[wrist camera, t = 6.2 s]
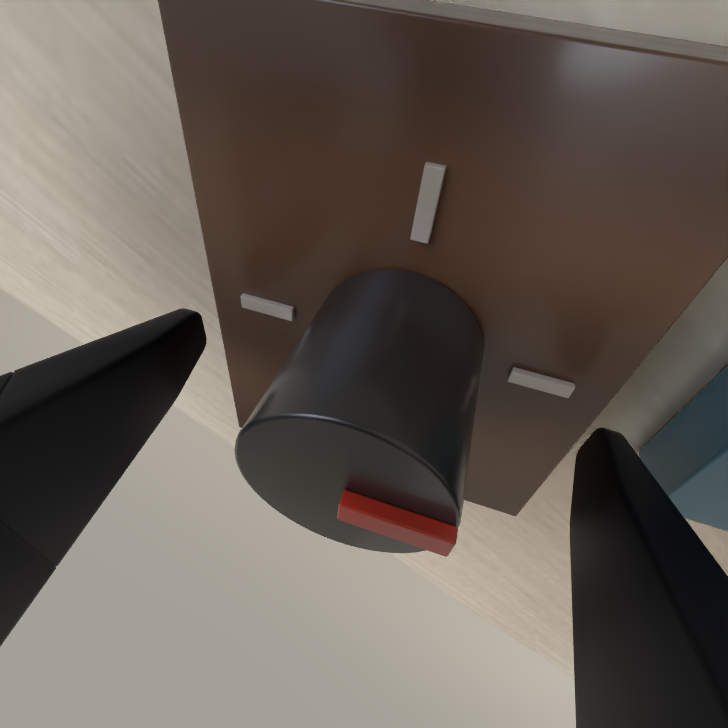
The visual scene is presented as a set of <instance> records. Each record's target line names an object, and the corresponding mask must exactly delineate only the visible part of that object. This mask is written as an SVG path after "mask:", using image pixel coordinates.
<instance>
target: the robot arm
mask: <svg viewBox="0 0 728 728" xmlns="http://www.w3.org/2000/svg"><path fill="white" fill-rule="evenodd" d="M205 346H206V334H205V330H204V325H203V321H202V317H201V315H200V314H199V313H198V312H195V311H192V310H188V309H183V308H182V309H178V310H176V311H173V312H170V313H168V314H165V315H162V316H159V317H157V318H154V319H151V320H149V321H146V322H143V323H141V324H138V325H135V326H133V327H130V328H127V329H125V330H122V331H119V332H117V333H114V334H111V335H109V336H106V337H103V338H101V339H98V340H95V341H93V342H90V343H87V344H85V345H82V346H79V347H76V348H74V349H71V350H68V351H66V352H63V353H61V354H58V355H55V356H52V357H50V358H47V359H45V360H42V361H39V362H36V363H34V364H31V365H28V366H26V367H23V368H20V369H17V370H15V371H14V373H13V372H9V373H7V374H4V375H1V376H0V646H1V645H2V643H3V642H4V640H5V639H6V638H7V636H8V635H9V634H10V632H11V630H12V629H13V628H14V626H15V625H16V624H17V622H18V621H19V619H20V618H21V617H22V615H23V614H24V612H25V611H26V610H27V608H28V607H29V605H30V604H31V603H32V601H33V600H34V598H35V597H36V596H37V594H38V593H39V591H40V590H41V589H42V587H43V586H44V584H45V583H46V582H47V580H48V579H49V577H50V576H51V575H52V573H53V572H54V570H55V569H56V566H57V565H58V564H59V563H60V562H61V560H62V559H63V557H64V556H65V554H66V553H67V552H68V550H69V549H70V548H71V546H72V544H73V543H74V542H75V541H76V539H77V538H78V536H79V535H80V534H81V532H82V531H83V529H84V528H85V526H86V525H87V524H88V522H89V521H90V520H91V518H92V517H93V515H94V514H95V513H96V511H97V510H98V508H99V507H100V506H101V504H102V503H103V501H104V500H105V499H106V497H107V496H108V494H109V493H110V492H111V490H112V489H113V487H114V486H115V484H116V483H117V482H118V480H119V479H120V478H121V476H122V475H123V473H124V472H125V470H126V469H127V468H128V466H129V465H130V463H131V462H132V461H133V459H134V458H135V456H136V455H137V454H138V452H139V451H140V449H141V448H142V447H143V445H144V444H145V442H146V441H147V439H148V438H149V437H150V435H151V434H152V433H153V431H154V430H155V428H156V427H157V426H158V424H159V423H160V421H161V420H162V419H163V417H164V416H165V414H166V413H167V412H168V410H169V409H170V407H171V406H172V404H173V403H174V401H175V400H176V398H177V397H178V395H179V393H180V392H181V390H182V388H183V386H184V385H185V383H186V381H187V379H188V377H189V376H190V374H191V372H192V370H193V368H194V367H195V365H196V363H197V361H198V359H199V358H200V356H201V354H202V352H203V350H204V348H205ZM570 554H571V584H572V614H573V644H574V674H575V703H576V728H728V576H727V575H726V573H725V572H724V571H723V569H722V568H721V567H720V565H719V564H718V563H717V561H716V560H715V559H714V557H713V556H712V555H711V553H710V552H709V551H708V549H707V548H706V547H705V545H704V544H703V542H702V541H701V540H700V538H699V537H698V536H697V534H696V533H695V532H694V530H693V529H692V528H691V526H690V525H689V524H688V522H687V521H686V520H685V518H684V517H683V516H682V514H681V513H680V512H679V510H678V509H677V507H676V506H675V505H674V503H673V502H672V501H671V499H670V498H669V497H668V495H667V494H666V493H665V491H664V490H663V489H662V487H661V486H660V485H659V483H658V482H657V481H656V479H655V478H654V477H653V475H652V474H651V472H650V471H649V470H648V468H647V467H646V466H645V464H644V463H643V462H642V460H641V459H640V458H639V456H638V455H637V454H636V452H635V451H634V450H633V448H632V447H631V446H630V444H629V443H628V442H627V440H626V439H625V437H624V436H623V435H622V434H620V433H618V432H615V431H612V430H608V429H605V428H598V429H596V430H595V431H594V432H593V433H592V435H591V436H590V437H589V438H588V439H587V441H586V442H585V443H584V444H583V445H582V446H581V448H580V449H579V451H578V453H577V456H576V462H575V473H574V483H573V494H572V505H571V516H570Z"/></svg>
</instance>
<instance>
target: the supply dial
mask: <svg viewBox="0 0 728 728" xmlns="http://www.w3.org/2000/svg"><path fill="white" fill-rule="evenodd" d="M483 352H484V346H483V337H482V333H481V330H480V327H479V324H478V322H477V320H476V318H475V317H474V315H473V313H472V312H471V310H470V309H469V308H468V307H467V305H466V304H465V303H464V302H463V301H462V300H461V299H460V298H459V297H458V296H457V295H456V294H455V293H454V292H452V291H451V290H450V289H448V288H447V287H445V286H444V285H442V284H440V283H439V282H437V281H435V280H433V279H430V278H428V277H426V276H423V275H420V274H417V273H414V272H409V271H404V270H394V269H381V270H373V271H367V272H364V273H360V274H357V275H354V276H352V277H350V278H348V279H346V280H345V281H343V282H342V283H340V284H339V285H338V286H336V287H335V288H334V289H333V290H332V291H331V293H330V294H329V295H328V297H327V298H326V300H325V301H324V303H323V304H322V306H321V307H320V309H319V310H318V312H317V313H316V315H315V316H314V318H313V320H312V321H311V323H310V324H309V326H308V327H307V329H306V330H305V332H304V333H303V335H302V337H301V338H300V340H299V341H298V343H297V344H296V346H295V347H294V349H293V350H292V352H291V353H290V355H289V357H288V358H287V360H286V361H285V363H284V364H283V366H282V367H281V369H280V370H279V372H278V373H277V375H276V377H275V378H274V380H273V381H272V383H271V384H270V386H269V387H268V389H267V390H266V392H265V394H264V395H263V397H262V398H261V400H260V401H259V403H258V404H257V406H256V407H255V409H254V410H253V412H252V414H251V415H250V417H249V418H248V420H247V421H246V423H245V424H244V426H243V427H242V429H241V431H240V432H239V434H238V437H237V439H236V445H235V458H236V461H237V464H238V467H239V469H240V471H241V473H242V475H243V477H244V478H245V480H246V481H247V483H248V484H249V485H250V486H251V487H252V488H253V490H254V491H255V492H256V493H257V494H258V495H259V496H260V497H261V498H262V499H264V500H265V501H266V502H267V503H268V504H269V505H270V506H272V507H273V508H274V509H276V510H277V511H279V512H280V513H281V514H283V515H284V516H286V517H287V518H289V519H291V520H292V521H294V522H296V523H297V524H299V525H301V526H303V527H305V528H307V529H309V530H311V531H313V532H315V533H317V534H320V535H322V536H324V537H327V538H330V539H332V540H335V541H338V542H341V543H344V544H347V545H351V546H355V547H358V548H363V549H368V550H373V551H380V552H390V553H412V552H420V551H425V550H428V551H431V552H434V553H437V554H440V555H443V556H445V557H447V556H448V555H449V553H450V552H451V550H452V548H453V547H454V545H455V544H456V539H457V532H458V527H459V525H460V522H461V515H462V508H463V501H464V493H465V486H466V478H467V471H468V463H469V456H470V448H471V441H472V434H473V426H474V419H475V411H476V404H477V396H478V389H479V381H480V374H481V366H482V359H483Z"/></svg>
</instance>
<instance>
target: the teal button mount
mask: <svg viewBox="0 0 728 728" xmlns="http://www.w3.org/2000/svg"><path fill="white" fill-rule="evenodd" d="M639 456H640V459H641V460H642V462H643V463H644V464H645V466H646V467H647V468H648V470H649V471H650V472H651V474H652V475H653V477H654V478H655V479H656V481H657V482H658V483H659V485H660V486H661V487H662V489H663V490H664V491H665V493H666V494H667V495H668V497H669V498H670V499H671V501H672V502H673V503H674V505H675V506H676V507H677V509H678V510H679V512H680V513H681V514H682V516H683V517H684V518H686V519H689V520H692V521H696V522H699V523H702V524H705V525H709V526H712V527H715V528H719V529H722V530H725V531H728V365H727V366H726V367H725V368H724V369H723V370H722V371H721V372H720V373H719V374H718V375H717V376H716V377H715V378H714V379H712V380H711V381H710V382H709V383H708V384H707V385H706V386H705V387H704V388H703V389H702V390H701V391H700V392H699V393H698V394H697V395H696V396H695V397H694V398H693V399H692V400H691V401H690V402H689V403H688V404H687V405H686V406H685V407H684V408H683V409H681V410H680V411H679V412H678V413H677V414H676V415H675V416H674V417H673V418H672V419H671V420H670V421H669V422H668V423H667V424H666V425H665V426H664V427H663V428H662V429H661V430H660V431H659V432H658V433H657V434H656V435H655V436H654V437H653V438H652V439H650V440H649V441H648V442H647V443H646V444H645V445H644V446H643V447H642V448H641V449H640V450H639Z"/></svg>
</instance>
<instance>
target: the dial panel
mask: <svg viewBox="0 0 728 728" xmlns="http://www.w3.org/2000/svg"><path fill="white" fill-rule="evenodd" d="M158 3H159V8H160V13H161V18H162V24H163V29H164V34H165V39H166V45H167V50H168V55H169V60H170V66H171V71H172V76H173V81H174V87H175V92H176V97H177V102H178V108H179V113H180V118H181V123H182V129H183V134H184V139H185V144H186V149H187V155H188V160H189V165H190V170H191V176H192V181H193V186H194V191H195V197H196V202H197V207H198V212H199V218H200V223H201V228H202V233H203V239H204V244H205V249H206V254H207V260H208V265H209V270H210V275H211V281H212V286H213V291H214V296H215V302H216V307H217V312H218V317H219V323H220V328H221V333H222V338H223V344H224V349H225V354H226V359H227V365H228V370H229V375H230V380H231V386H232V391H233V396H234V401H235V406H236V412H237V417H238V422H239V427H241V428H242V427H243V426H244V424H245V423H246V421H247V420H248V418H249V417H250V415H251V414H252V412H253V410H254V409H255V407H256V406H257V404H258V403H259V401H260V400H261V398H262V397H263V395H264V394H265V392H266V390H267V389H268V387H269V386H270V384H271V383H272V381H273V380H274V378H275V377H276V375H277V373H278V372H279V370H280V369H281V367H282V366H283V364H284V363H285V361H286V360H287V358H288V357H289V355H290V353H291V352H292V350H293V349H294V347H295V346H296V344H297V343H298V341H299V340H300V338H301V337H302V335H303V333H304V332H305V330H306V329H307V327H308V326H309V324H310V323H311V321H312V320H313V318H314V316H315V315H316V313H317V312H318V310H319V309H320V307H321V306H322V304H323V303H324V301H325V300H326V298H327V297H328V295H329V294H330V293H331V291H332V290H333V289H334V288H335V287H336V286H338V285H339V284H340V283H342V282H343V281H345V280H346V279H348V278H350V277H352V276H354V275H357V274H360V273H364V272H367V271H373V270H381V269H394V270H404V271H409V272H414V273H417V274H420V275H423V276H426V277H428V278H430V279H433V280H435V281H437V282H439V283H440V284H442V285H444V286H445V287H447V288H448V289H450V290H451V291H452V292H454V293H455V294H456V295H457V296H458V297H459V298H460V299H461V300H462V301H463V302H464V303H465V304H466V305H467V307H468V308H469V309H470V310H471V312H472V313H473V315H474V317H475V318H476V320H477V322H478V324H479V327H480V330H481V333H482V337H483V346H484V352H483V359H482V366H481V374H480V381H479V389H478V396H477V404H476V411H475V419H474V426H473V434H472V441H471V448H470V456H469V463H468V471H467V478H466V486H465V493H464V500H467V501H470V502H473V503H476V504H479V505H482V506H485V507H488V508H491V509H494V510H498V511H501V512H504V513H507V514H510V515H513V516H516V515H517V514H518V513H519V512H520V510H521V509H522V508H523V507H524V505H525V504H526V503H527V502H528V501H529V499H530V498H531V497H532V496H533V494H534V493H535V492H536V491H537V490H538V488H539V487H540V486H541V485H542V483H543V482H544V481H545V480H546V479H547V477H548V476H549V475H550V474H551V472H552V471H553V470H554V469H555V468H556V466H557V465H558V464H559V463H560V461H561V460H562V459H563V458H564V457H565V455H566V454H567V453H568V452H569V450H570V449H571V448H572V447H573V446H574V444H575V443H576V442H577V441H578V439H579V438H580V437H581V436H582V434H583V433H584V432H585V431H586V430H587V428H588V427H589V426H590V425H591V423H592V422H593V421H594V420H595V419H596V417H597V416H598V415H599V414H600V412H601V411H602V410H603V409H604V408H605V406H606V405H607V404H608V403H609V401H610V400H611V399H612V398H613V397H614V395H615V394H616V393H617V392H618V390H619V389H620V388H621V387H622V386H623V384H624V383H625V382H626V381H627V379H628V378H629V377H630V376H631V375H632V373H633V372H634V371H635V370H636V368H637V367H638V366H639V365H640V364H641V362H642V361H643V360H644V359H645V357H646V356H647V355H648V354H649V353H650V351H651V350H652V349H653V348H654V346H655V345H656V344H657V343H658V342H659V340H660V339H661V338H662V337H663V335H664V334H665V333H666V332H667V331H668V329H669V328H670V327H671V326H672V324H673V323H674V322H675V321H676V319H677V318H678V317H679V316H680V315H681V313H682V312H683V311H684V310H685V308H686V307H687V306H688V305H689V304H690V302H691V301H692V300H693V299H694V297H695V296H696V295H697V294H698V293H699V291H700V290H701V289H702V288H703V286H704V285H705V284H706V283H707V282H708V280H709V279H710V278H711V277H712V275H713V274H714V273H715V272H716V271H717V269H718V268H719V267H720V266H721V264H722V263H723V262H724V261H725V260H726V258H727V257H728V47H725V46H718V45H712V44H705V43H699V42H693V41H686V40H680V39H673V38H667V37H660V36H654V35H648V34H641V33H635V32H628V31H622V30H615V29H609V28H603V27H596V26H590V25H583V24H577V23H570V22H564V21H558V20H551V19H545V18H538V17H532V16H525V15H519V14H513V13H506V12H500V11H493V10H487V9H480V8H474V7H468V6H461V5H455V4H448V3H442V2H435V1H429V0H158Z"/></svg>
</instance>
